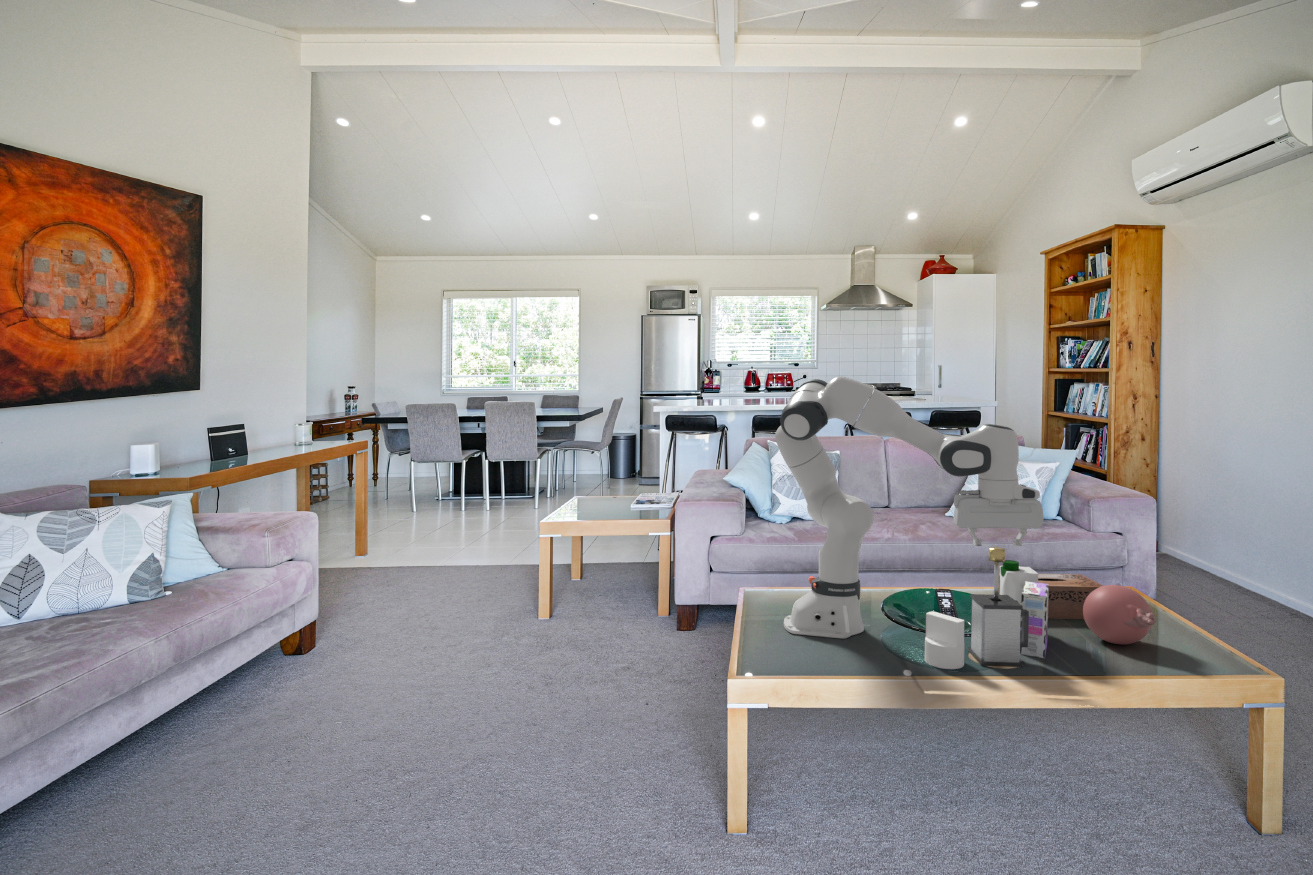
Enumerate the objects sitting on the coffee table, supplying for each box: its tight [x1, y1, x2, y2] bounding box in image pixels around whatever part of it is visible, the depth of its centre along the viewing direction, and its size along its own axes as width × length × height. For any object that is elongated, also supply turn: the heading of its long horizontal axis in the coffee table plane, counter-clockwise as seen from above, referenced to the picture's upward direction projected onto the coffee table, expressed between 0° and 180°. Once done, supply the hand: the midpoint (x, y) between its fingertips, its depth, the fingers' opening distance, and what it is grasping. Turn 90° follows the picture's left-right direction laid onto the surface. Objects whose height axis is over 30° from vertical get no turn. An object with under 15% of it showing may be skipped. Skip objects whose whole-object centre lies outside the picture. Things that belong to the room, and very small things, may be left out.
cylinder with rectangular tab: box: [924, 610, 965, 670], centre depth 169 cm, size 9×9×12 cm
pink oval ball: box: [1083, 584, 1157, 645], centre depth 180 cm, size 15×20×15 cm
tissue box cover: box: [998, 572, 1104, 620], centre depth 210 cm, size 26×14×10 cm, turn 84°
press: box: [967, 593, 1029, 668], centre depth 170 cm, size 12×10×15 cm
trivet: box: [968, 652, 1022, 670], centre depth 171 cm, size 12×12×1 cm
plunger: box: [988, 546, 1006, 601], centre depth 170 cm, size 6×6×17 cm
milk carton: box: [999, 559, 1039, 628], centre depth 191 cm, size 9×9×20 cm
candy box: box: [1020, 581, 1049, 659], centre depth 178 cm, size 14×6×16 cm, turn 148°
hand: (997, 545), depth 169 cm, fingers open, 8 cm apart
